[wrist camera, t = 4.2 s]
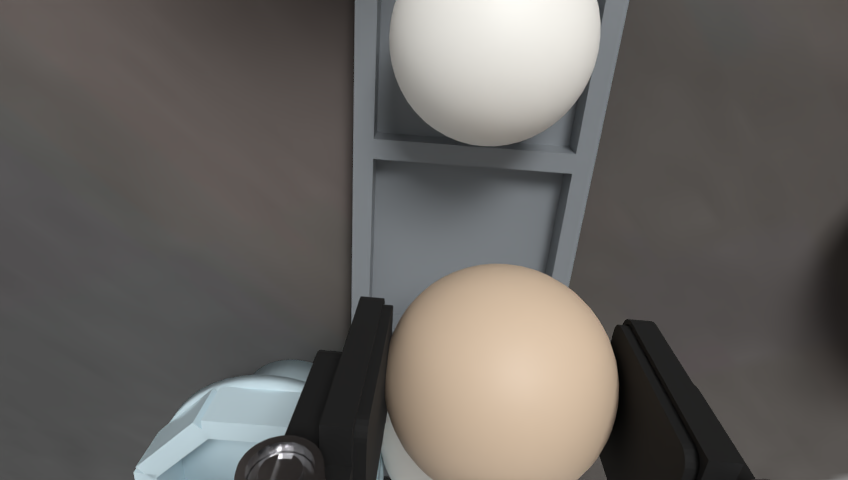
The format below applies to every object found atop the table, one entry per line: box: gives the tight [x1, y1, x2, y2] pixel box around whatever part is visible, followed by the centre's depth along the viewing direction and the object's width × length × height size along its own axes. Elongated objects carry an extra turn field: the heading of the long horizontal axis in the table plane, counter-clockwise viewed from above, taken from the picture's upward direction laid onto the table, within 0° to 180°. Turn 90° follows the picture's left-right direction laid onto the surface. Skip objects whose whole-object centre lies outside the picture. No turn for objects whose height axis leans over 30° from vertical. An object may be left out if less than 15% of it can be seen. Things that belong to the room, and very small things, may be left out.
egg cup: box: [134, 360, 384, 480], centre depth 19 cm, size 8×8×5 cm
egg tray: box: [351, 0, 629, 476], centre depth 17 cm, size 7×20×1 cm, turn 176°
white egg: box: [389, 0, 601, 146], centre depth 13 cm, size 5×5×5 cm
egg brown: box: [385, 264, 619, 480], centre depth 11 cm, size 5×5×5 cm
